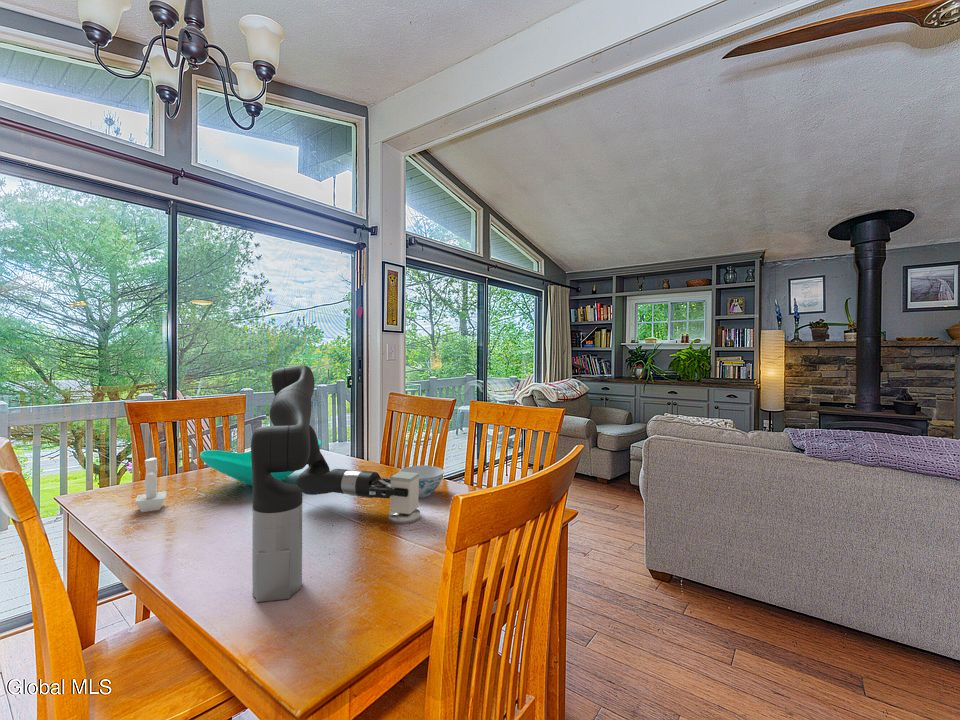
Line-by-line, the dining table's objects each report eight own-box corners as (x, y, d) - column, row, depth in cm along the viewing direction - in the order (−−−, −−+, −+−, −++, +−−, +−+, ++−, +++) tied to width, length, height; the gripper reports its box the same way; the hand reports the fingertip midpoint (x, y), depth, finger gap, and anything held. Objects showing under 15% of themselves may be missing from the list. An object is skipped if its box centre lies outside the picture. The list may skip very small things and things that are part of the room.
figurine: (134, 516, 128) (133, 463, 128) (138, 505, 136) (137, 456, 136) (165, 511, 132) (164, 460, 132) (167, 501, 140) (167, 454, 140)
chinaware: (392, 490, 155) (393, 468, 155) (433, 485, 162) (434, 463, 161) (406, 504, 141) (406, 480, 141) (450, 497, 148) (450, 474, 148)
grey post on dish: (412, 525, 125) (412, 499, 125) (382, 521, 127) (383, 495, 127) (425, 514, 134) (425, 489, 133) (397, 510, 136) (397, 486, 136)
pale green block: (409, 514, 127) (410, 478, 126) (390, 511, 128) (390, 476, 128) (418, 506, 132) (418, 473, 132) (399, 504, 134) (400, 471, 134)
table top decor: (209, 506, 137) (209, 463, 136) (192, 484, 157) (191, 447, 157) (334, 482, 163) (335, 445, 163) (306, 466, 184) (306, 433, 183)
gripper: (347, 477, 127) (401, 483, 122) (373, 464, 141) (423, 470, 136) (347, 503, 127) (401, 511, 123) (373, 488, 141) (422, 494, 137)
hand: (412, 489), depth 130 cm, fingers closed on pale green block, 5 cm apart
